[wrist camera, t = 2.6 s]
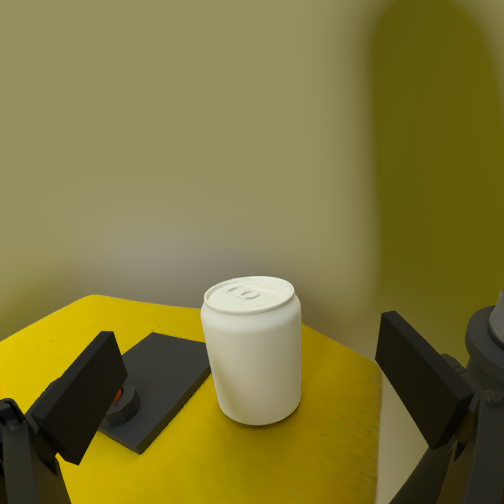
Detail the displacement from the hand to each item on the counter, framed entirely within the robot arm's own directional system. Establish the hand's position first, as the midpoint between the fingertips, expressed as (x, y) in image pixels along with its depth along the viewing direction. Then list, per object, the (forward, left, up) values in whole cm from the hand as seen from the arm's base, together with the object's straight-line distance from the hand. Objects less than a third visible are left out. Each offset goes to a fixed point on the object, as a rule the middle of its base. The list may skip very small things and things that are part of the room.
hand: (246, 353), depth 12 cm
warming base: (+17, -7, -13) cm, 22 cm away
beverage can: (+4, -9, -13) cm, 16 cm away
